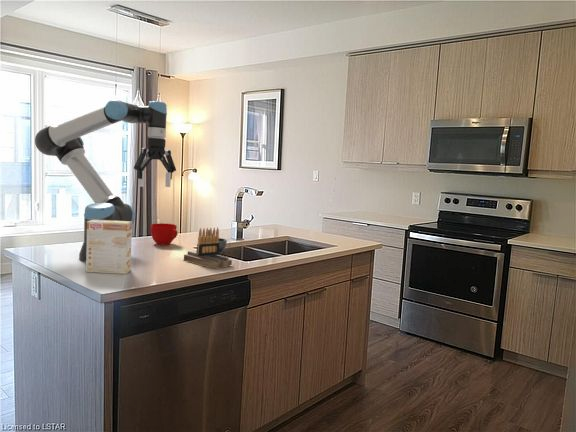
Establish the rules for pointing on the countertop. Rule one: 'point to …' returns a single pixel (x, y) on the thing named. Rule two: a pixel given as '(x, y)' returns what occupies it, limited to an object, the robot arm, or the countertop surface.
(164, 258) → the countertop surface
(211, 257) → the stick bundle
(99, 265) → the coffeecake box
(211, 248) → the ammunition clip
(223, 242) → the mortar and pestle
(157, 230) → the ceramic cup
